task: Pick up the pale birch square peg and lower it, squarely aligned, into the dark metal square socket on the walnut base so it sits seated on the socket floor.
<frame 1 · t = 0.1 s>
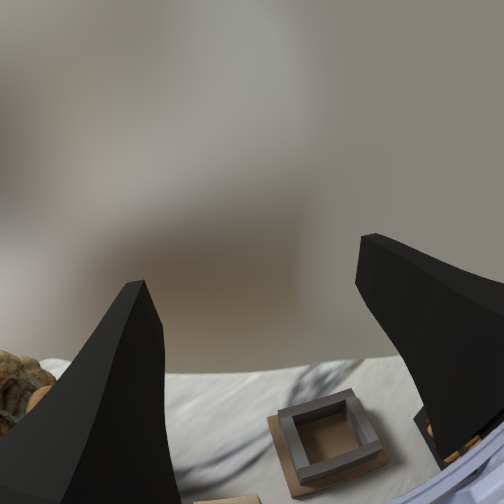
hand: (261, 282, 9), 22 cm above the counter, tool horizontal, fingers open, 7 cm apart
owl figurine: (90, 474, 19), on the counter
socket: (325, 445, 22), on the counter
ammunition clip: (440, 453, 18), on the counter
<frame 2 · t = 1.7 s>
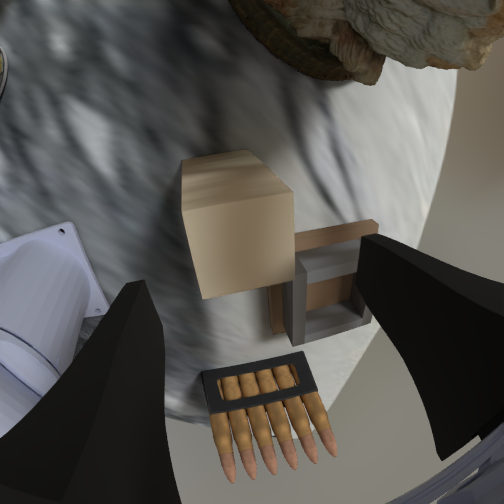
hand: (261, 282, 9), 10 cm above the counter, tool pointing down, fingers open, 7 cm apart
socket: (320, 276, 23), on the counter
ammunition clip: (252, 365, 28), on the counter
square peg: (219, 184, 18), on the counter
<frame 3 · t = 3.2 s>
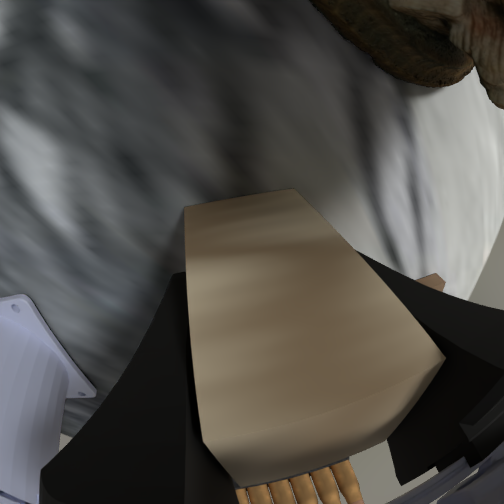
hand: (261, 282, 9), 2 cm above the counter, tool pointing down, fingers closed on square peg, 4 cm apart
ammunition clip: (273, 429, 22), on the counter
square peg: (245, 244, 11), on the counter, touching gripper
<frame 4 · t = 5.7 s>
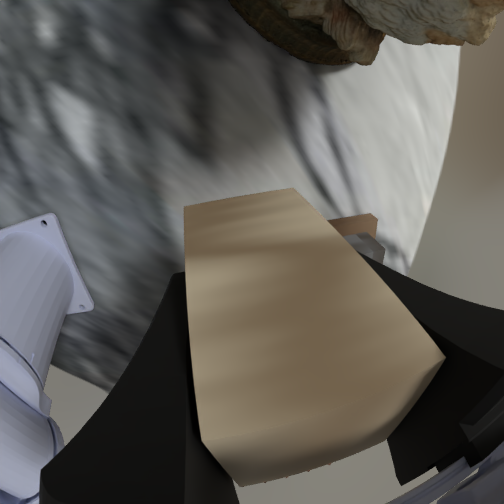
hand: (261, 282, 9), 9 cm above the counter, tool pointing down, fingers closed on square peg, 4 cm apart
socket: (315, 273, 22), on the counter
square peg: (245, 244, 11), point 7 cm above the counter, touching gripper
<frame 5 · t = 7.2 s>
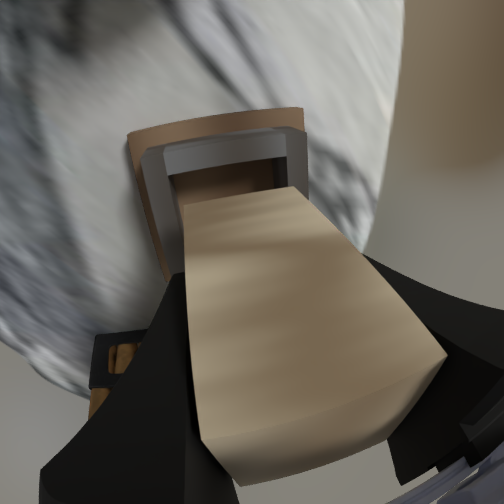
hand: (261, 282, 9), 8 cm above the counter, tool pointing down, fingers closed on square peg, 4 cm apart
socket: (225, 193, 16), on the counter
ammunition clip: (160, 333, 21), on the counter
square peg: (245, 243, 11), point 6 cm above the counter, touching gripper
when the fingers open (5 cm above the counter, at t = 8.3 s): square peg drops 1 cm, resting on socket.
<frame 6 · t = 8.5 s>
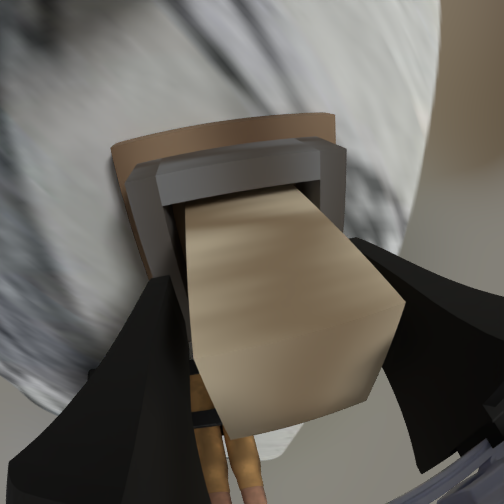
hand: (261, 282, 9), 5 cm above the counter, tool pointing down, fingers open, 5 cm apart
socket: (235, 218, 13), on the counter
ammunition clip: (161, 369, 18), on the counter
square peg: (240, 226, 12), point 1 cm above the counter, touching socket
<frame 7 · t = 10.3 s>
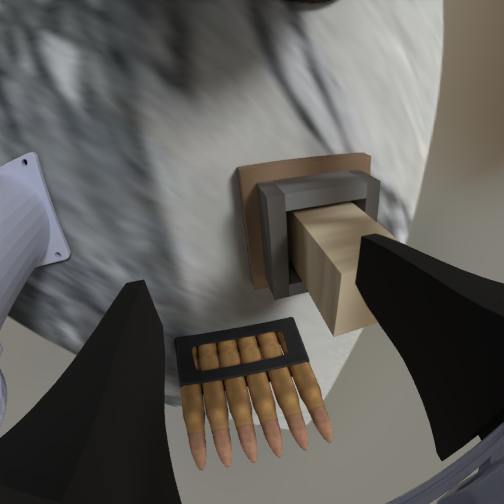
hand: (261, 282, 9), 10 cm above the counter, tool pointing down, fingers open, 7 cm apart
socket: (307, 218, 20), on the counter
ammunition clip: (235, 333, 25), on the counter
square peg: (312, 223, 19), point 1 cm above the counter, touching socket
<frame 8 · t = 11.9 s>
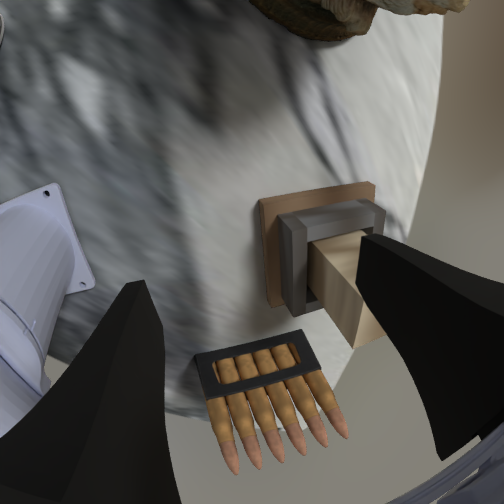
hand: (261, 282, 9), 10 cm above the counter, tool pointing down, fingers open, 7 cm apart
socket: (317, 242, 22), on the counter
ammunition clip: (249, 346, 27), on the counter
square peg: (324, 247, 22), point 1 cm above the counter, touching socket
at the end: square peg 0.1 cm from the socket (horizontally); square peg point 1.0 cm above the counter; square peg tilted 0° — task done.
